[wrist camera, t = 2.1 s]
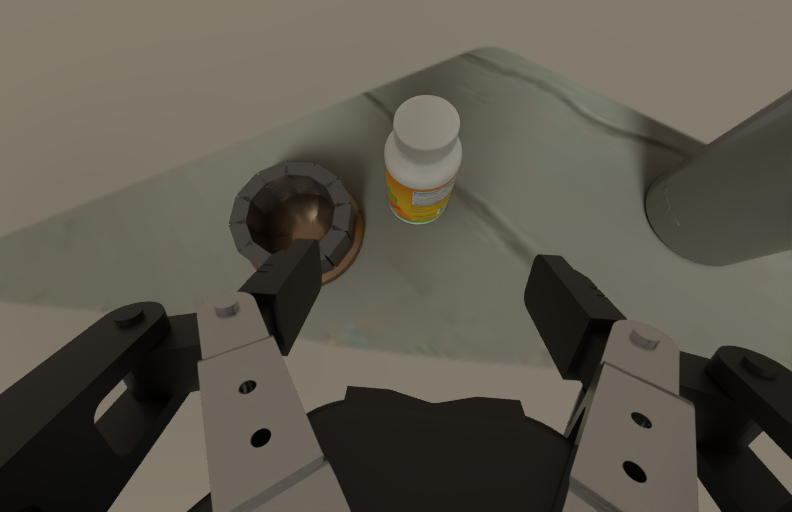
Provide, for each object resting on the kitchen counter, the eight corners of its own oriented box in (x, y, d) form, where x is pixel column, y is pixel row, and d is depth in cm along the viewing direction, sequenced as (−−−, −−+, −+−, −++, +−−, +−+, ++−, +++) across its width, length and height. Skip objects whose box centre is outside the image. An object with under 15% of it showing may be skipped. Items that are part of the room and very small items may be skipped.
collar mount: (369, 185, 27) (364, 159, 23) (356, 293, 24) (348, 284, 21) (262, 179, 28) (240, 152, 24) (238, 284, 25) (208, 273, 21)
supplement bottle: (383, 177, 28) (374, 92, 18) (440, 167, 28) (459, 78, 18) (393, 231, 26) (389, 167, 17) (453, 220, 26) (482, 151, 17)
